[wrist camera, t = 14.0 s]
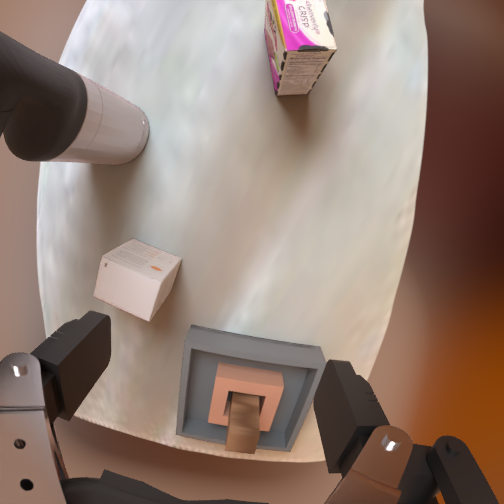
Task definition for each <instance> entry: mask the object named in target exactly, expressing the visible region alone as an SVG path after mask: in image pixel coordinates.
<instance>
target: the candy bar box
mask: <svg viewBox="0 0 504 504" xmlns="http://www.w3.org/2000/svg"><path fill="white" fill-rule="evenodd" d="M264 32H265V37H266V43H267V49H268V54H269V60H270V66H271V72H272V77H273V83H274V89H275V95H276V96H283V95H294V94H309V92H310V91H311V89H312V88H313V86H314V84H315V83H316V81H317V80H318V78H319V76H320V75H321V73H322V72H323V70H324V69H325V67H326V65H327V64H328V62H329V61H330V59H331V58H332V56H333V55H334V53H335V52H336V51H337V47H336V42H335V38H334V34H333V30H332V26H331V22H330V18H329V14H328V10H327V7H326V3H325V0H266V4H265V28H264Z"/></svg>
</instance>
